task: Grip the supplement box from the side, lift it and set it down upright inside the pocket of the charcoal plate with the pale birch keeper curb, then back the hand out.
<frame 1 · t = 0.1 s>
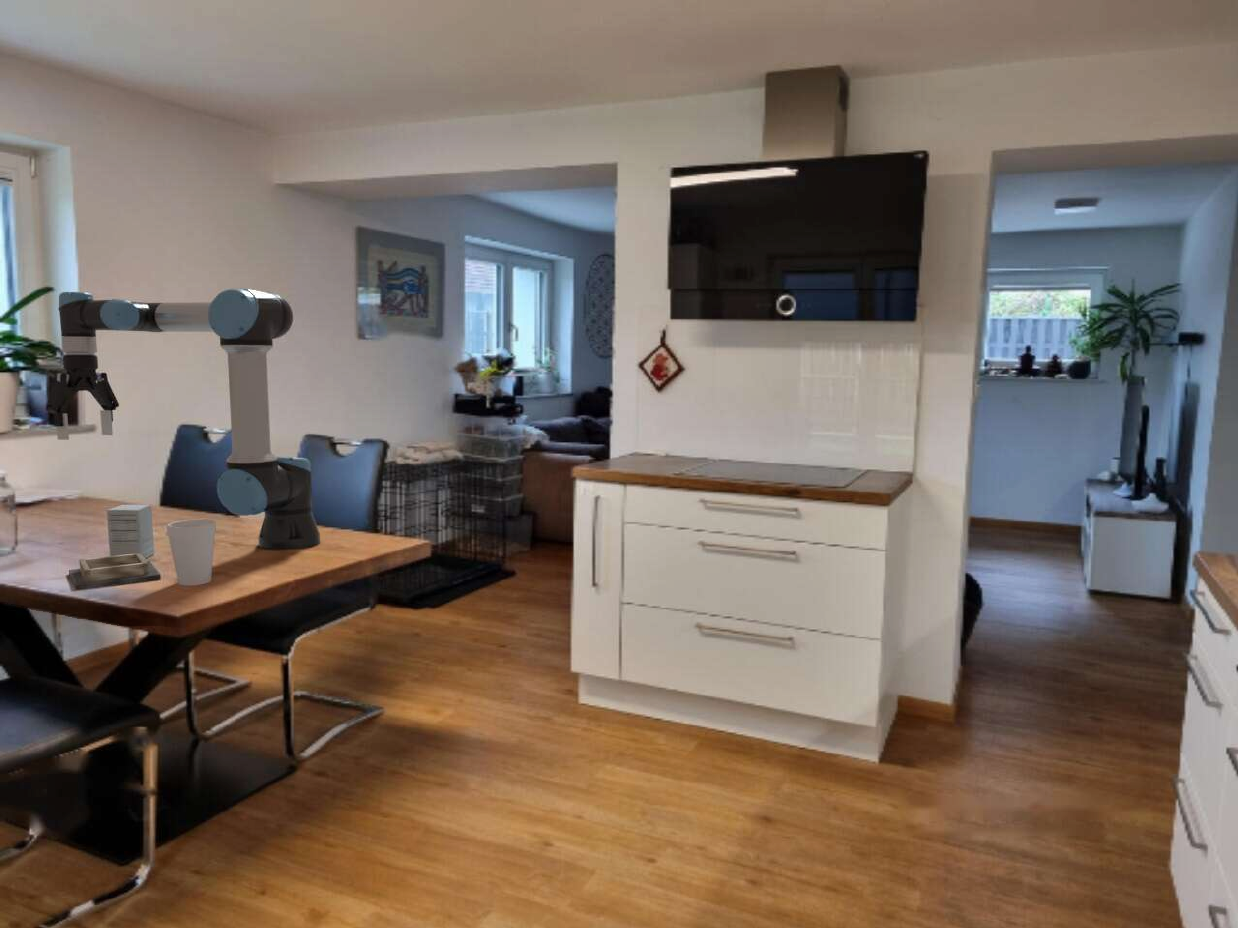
hand: (86, 437, 222), 28 cm above the table, tool pointing down, fingers open, 13 cm apart
supplement box: (132, 558, 210), on the table
keeper cradle: (114, 576, 193), on the table
foam cup: (194, 582, 189), on the table
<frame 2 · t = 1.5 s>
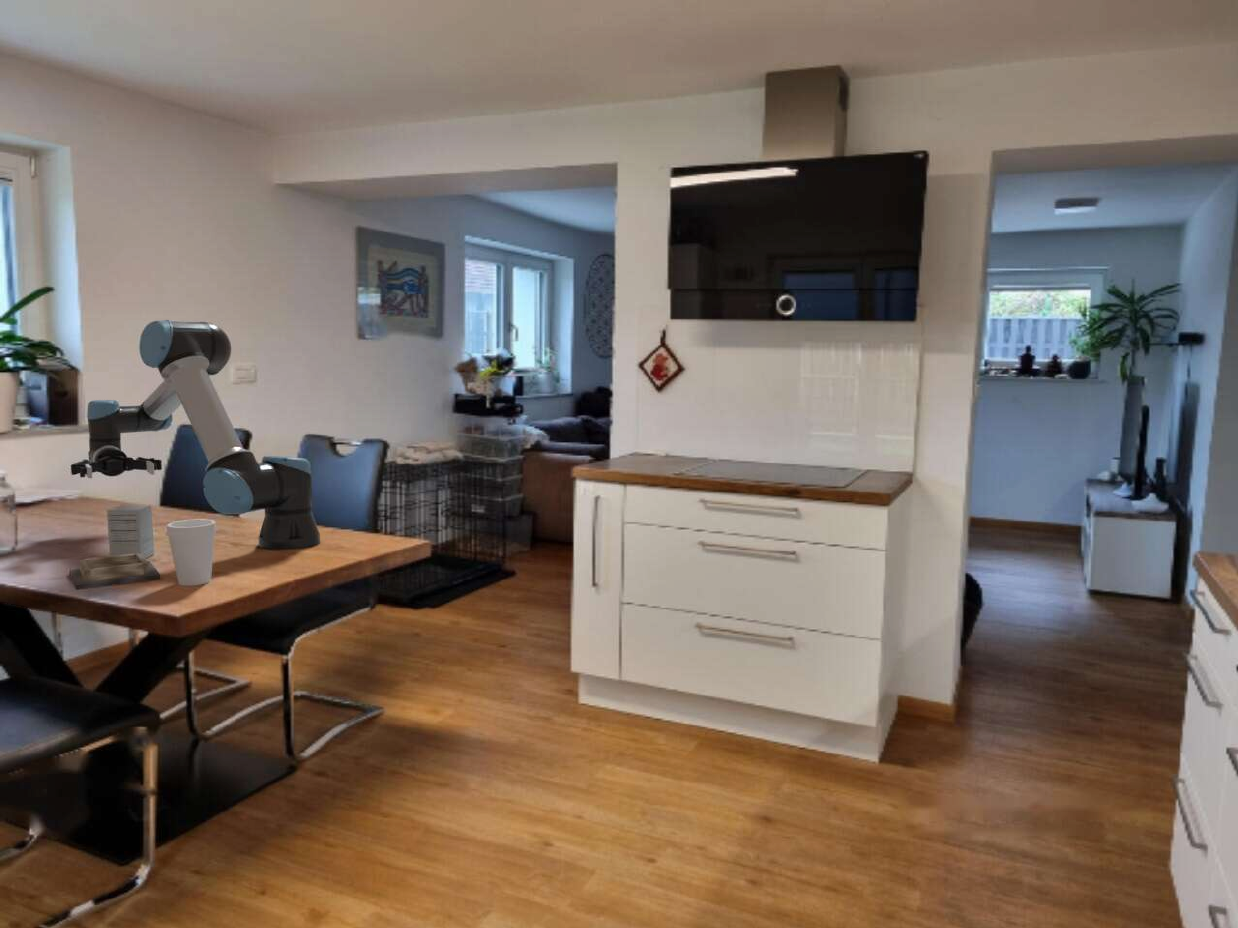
hand: (122, 471, 215), 20 cm above the table, tool horizontal, fingers open, 13 cm apart
nothing on the table moved.
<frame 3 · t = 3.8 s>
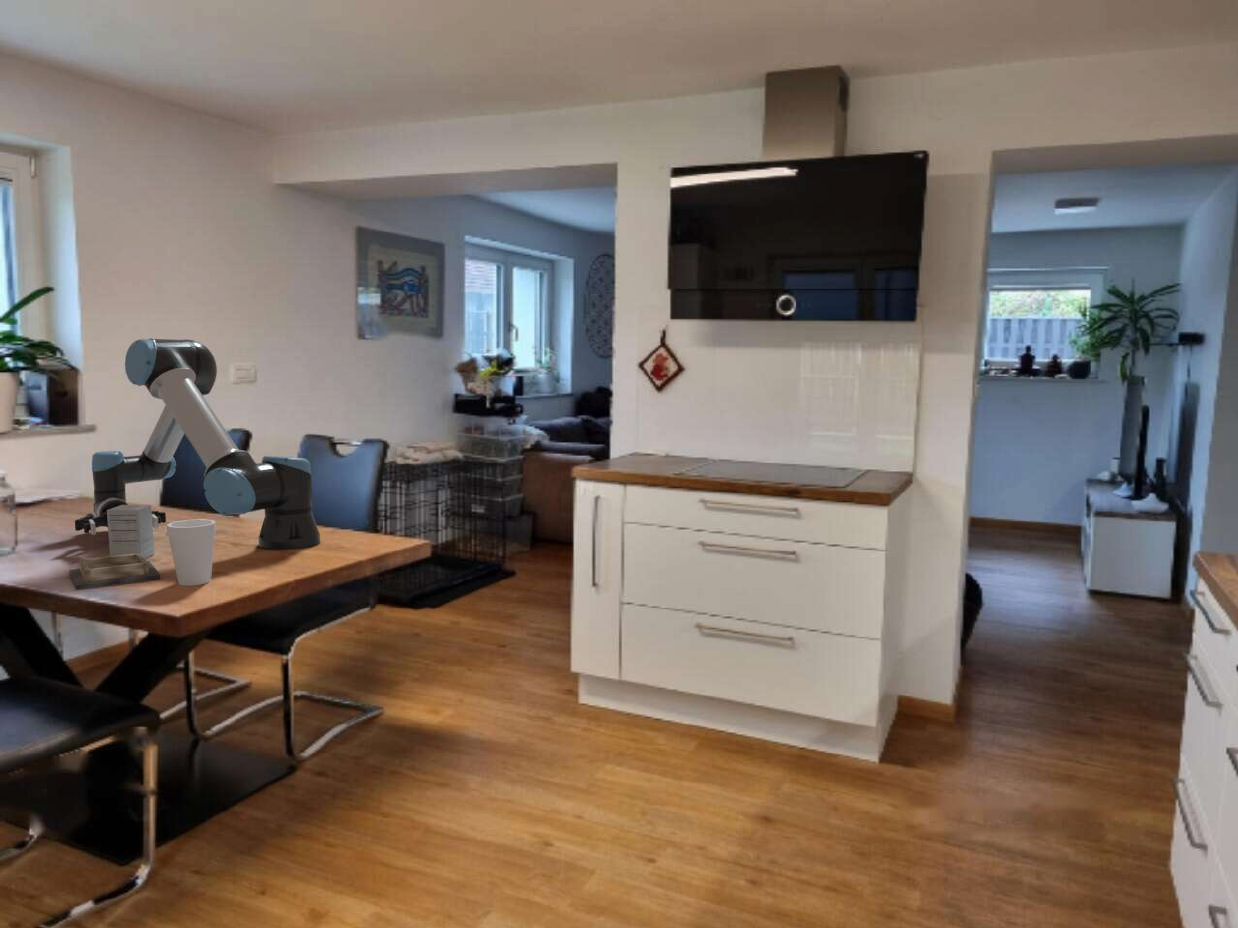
hand: (125, 526, 214), 7 cm above the table, tool horizontal, fingers open, 13 cm apart
nothing on the table moved.
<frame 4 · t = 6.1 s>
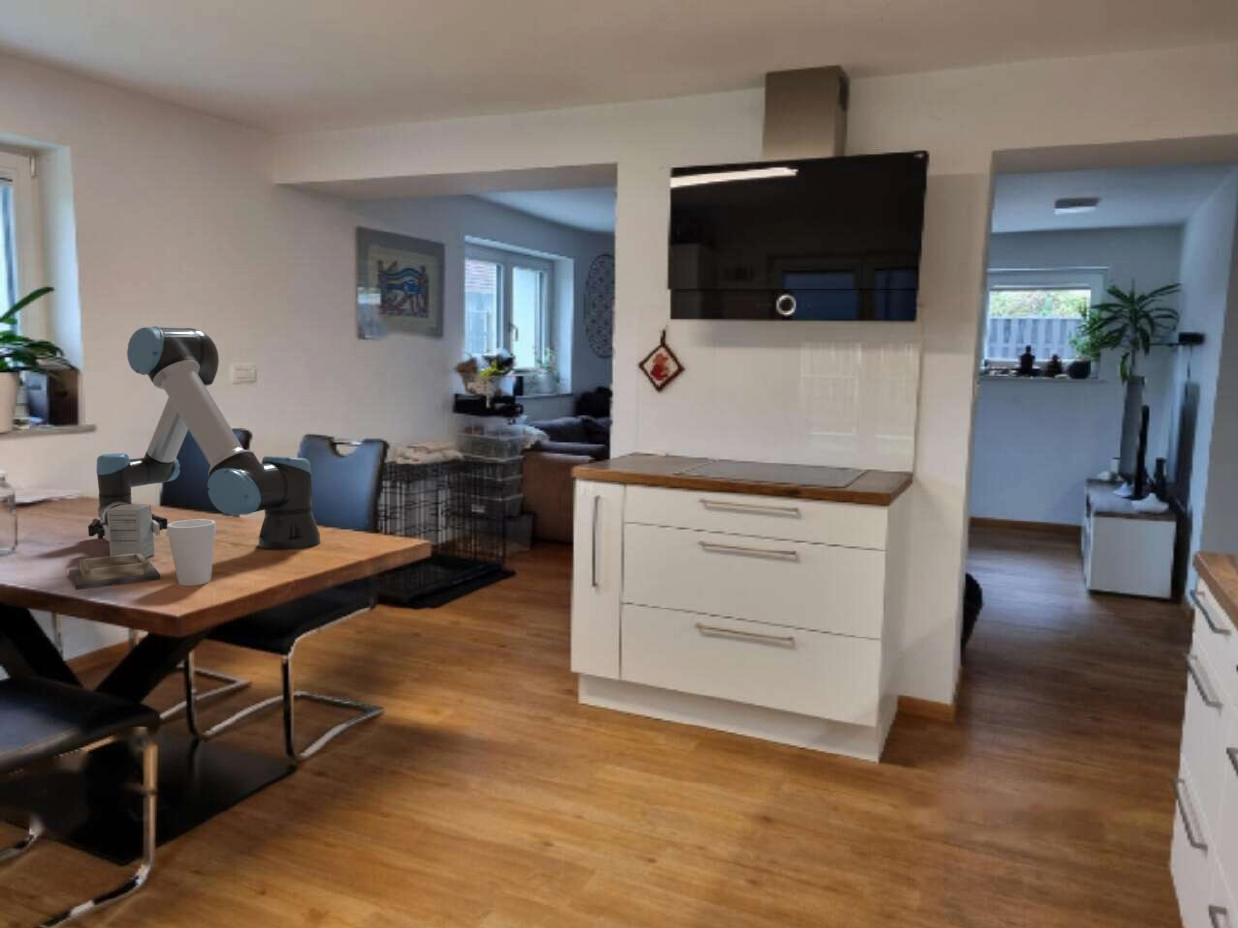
hand: (133, 532, 206), 7 cm above the table, tool horizontal, fingers closed on supplement box, 10 cm apart
supplement box: (132, 558, 210), on the table, touching gripper
everything else where it was.
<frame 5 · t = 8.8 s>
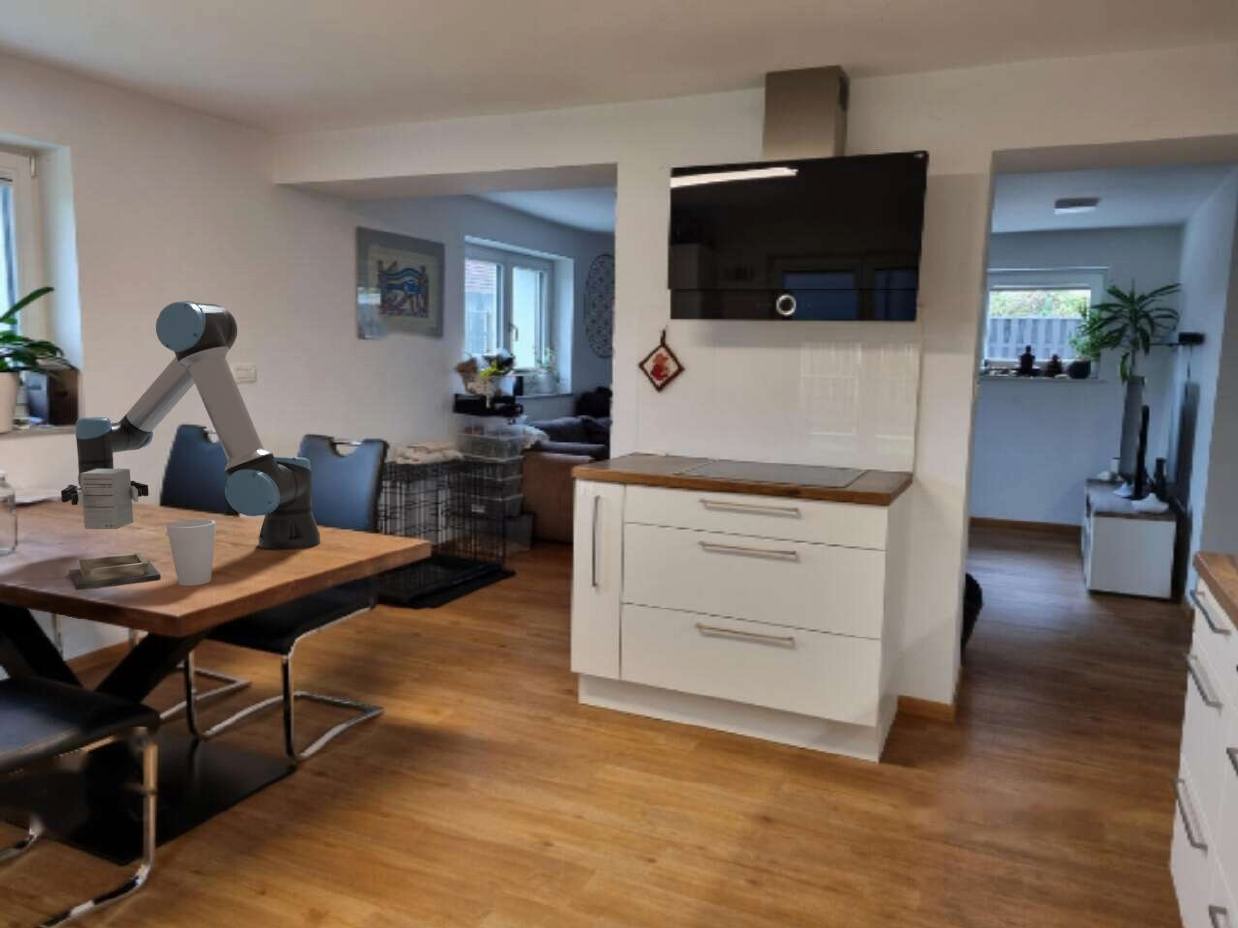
hand: (109, 497, 190), 18 cm above the table, tool horizontal, fingers closed on supplement box, 10 cm apart
supplement box: (109, 527, 194), point 11 cm above the table, touching gripper
everything else where it was.
when the fingers open (9 cm above the table, at t = 11.6 s): supplement box drops 1 cm, resting on keeper cradle.
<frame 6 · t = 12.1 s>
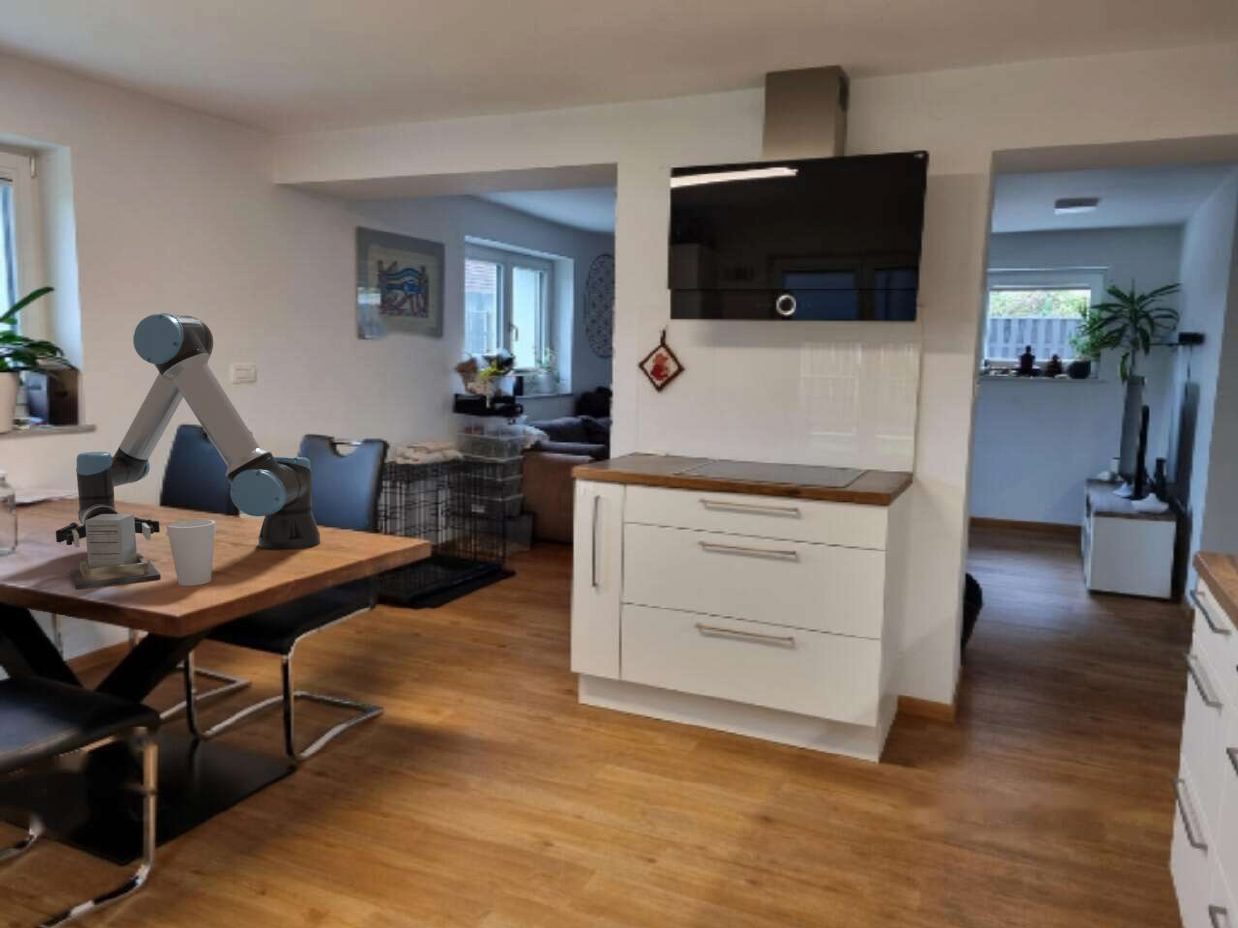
hand: (113, 537, 189), 10 cm above the table, tool horizontal, fingers open, 13 cm apart
supplement box: (113, 573, 193), point 1 cm above the table, touching keeper cradle
everything else where it was.
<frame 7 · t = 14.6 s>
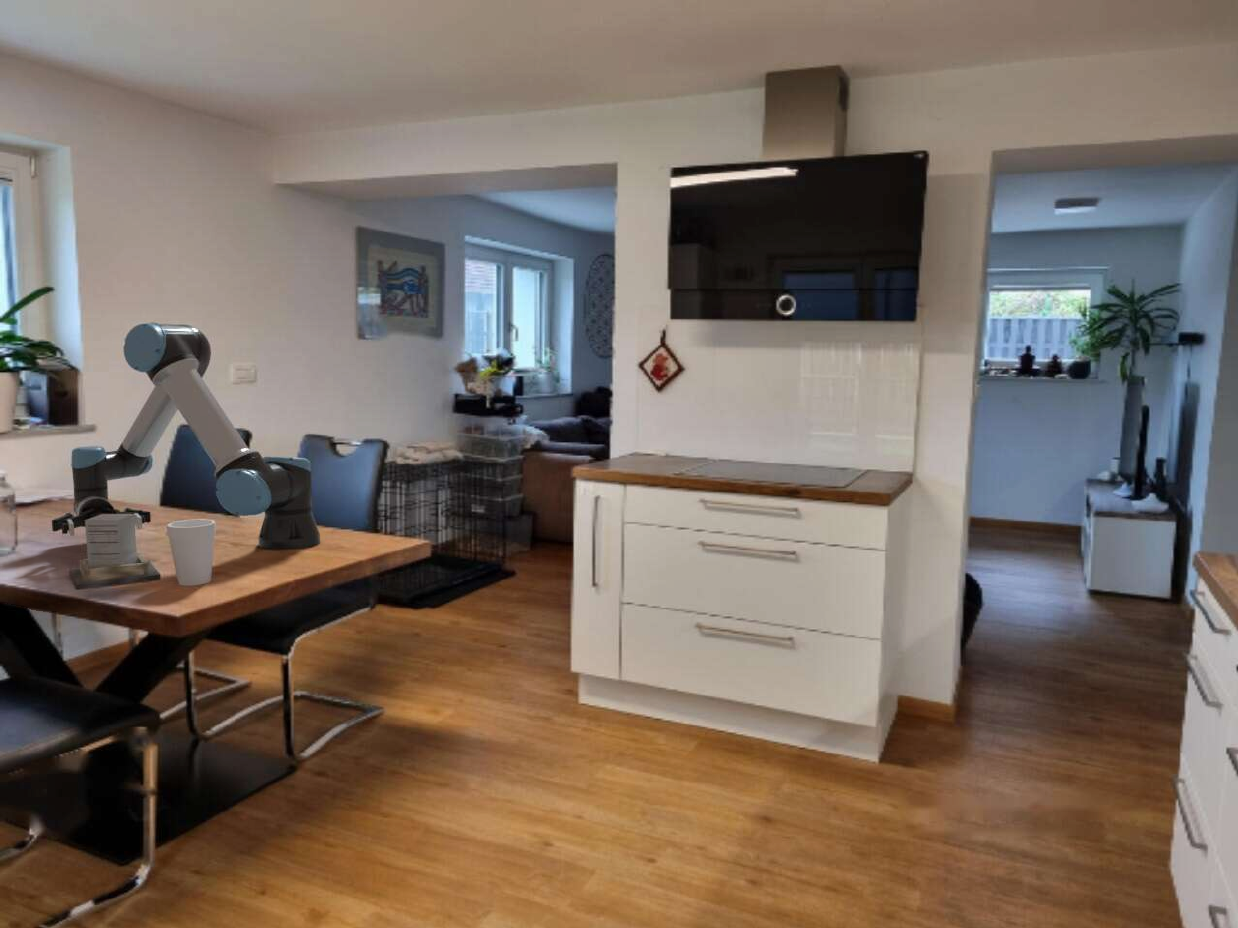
hand: (106, 526, 199), 10 cm above the table, tool horizontal, fingers open, 13 cm apart
nothing on the table moved.
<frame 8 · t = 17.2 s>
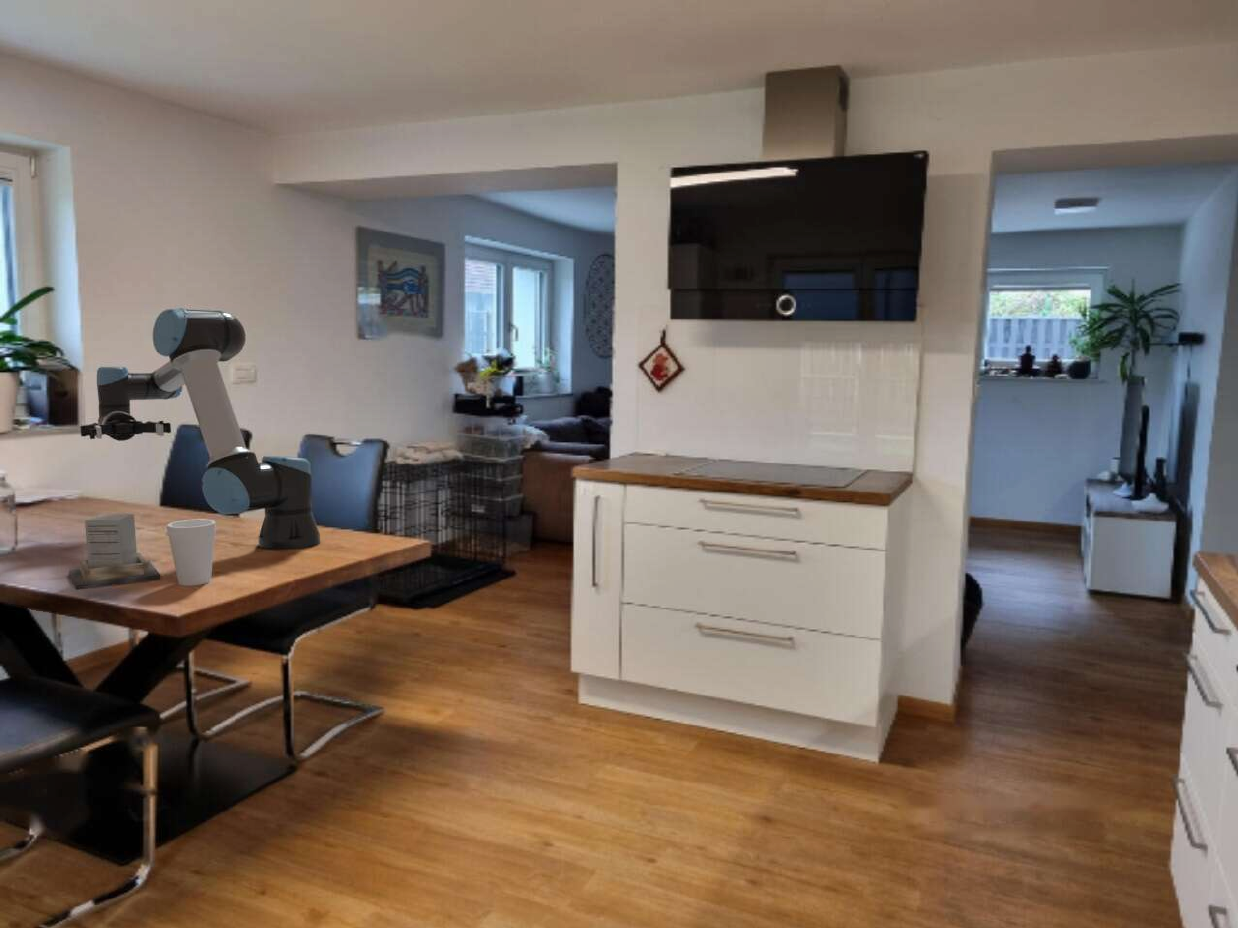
hand: (131, 431, 216), 30 cm above the table, tool horizontal, fingers open, 13 cm apart
nothing on the table moved.
at the end: supplement box 0.1 cm off-centre on the keeper cradle, point 0.8 cm above the keeper cradle's base; supplement box tilted 0°; the gripper is holding nothing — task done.
